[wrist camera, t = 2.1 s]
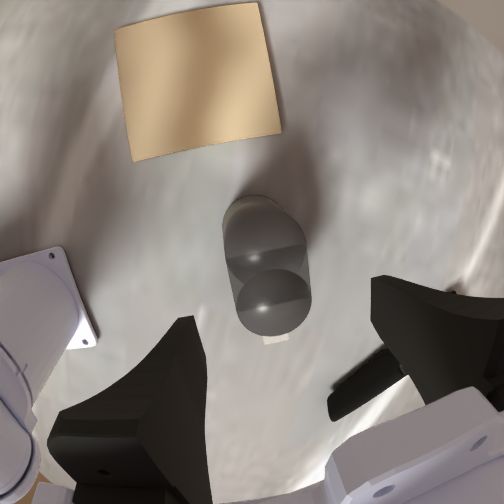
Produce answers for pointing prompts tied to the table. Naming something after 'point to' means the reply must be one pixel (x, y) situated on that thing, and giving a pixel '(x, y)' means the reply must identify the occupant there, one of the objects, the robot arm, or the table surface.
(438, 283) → the table surface
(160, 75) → the pad
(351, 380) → the electric trimmer
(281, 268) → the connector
